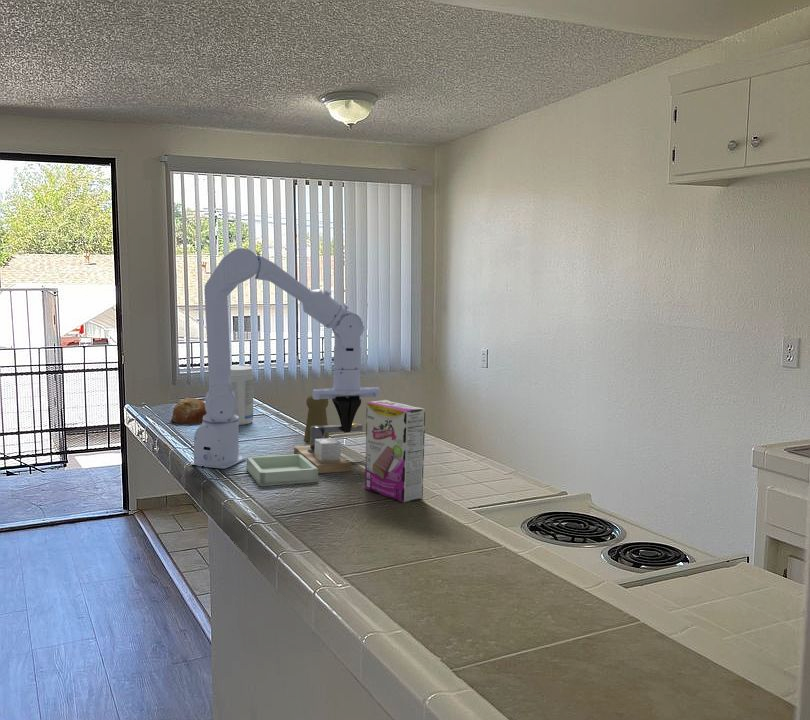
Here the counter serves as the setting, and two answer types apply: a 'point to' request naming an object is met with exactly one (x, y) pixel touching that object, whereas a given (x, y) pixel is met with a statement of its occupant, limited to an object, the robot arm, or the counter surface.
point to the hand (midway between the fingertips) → (346, 431)
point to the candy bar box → (395, 450)
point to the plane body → (326, 466)
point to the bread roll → (189, 411)
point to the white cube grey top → (327, 450)
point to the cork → (316, 415)
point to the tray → (281, 469)
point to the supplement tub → (243, 392)
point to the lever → (328, 431)
